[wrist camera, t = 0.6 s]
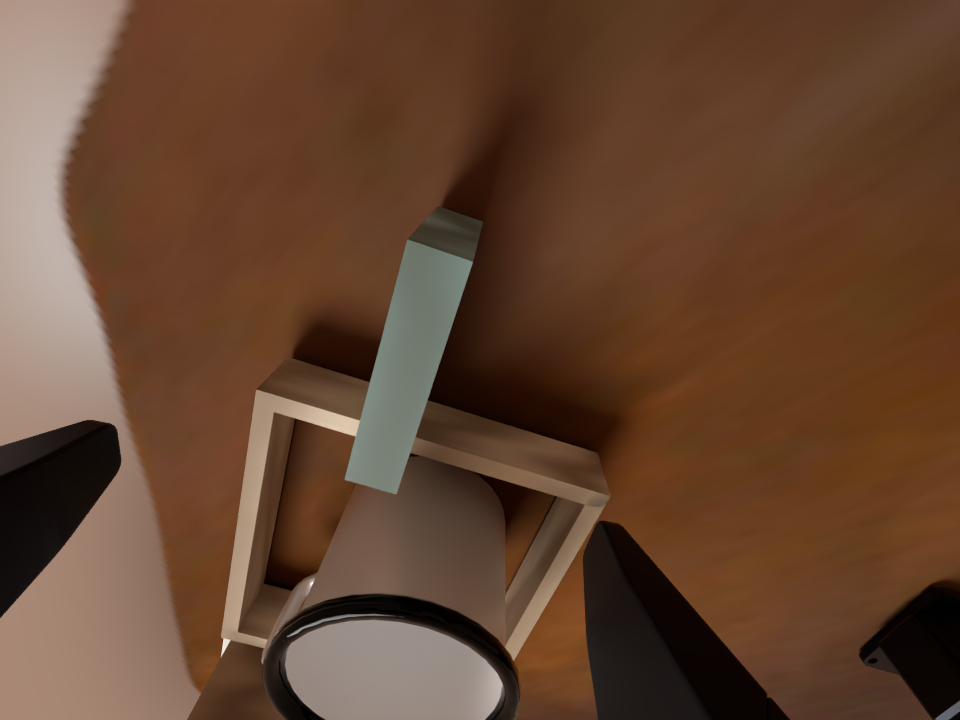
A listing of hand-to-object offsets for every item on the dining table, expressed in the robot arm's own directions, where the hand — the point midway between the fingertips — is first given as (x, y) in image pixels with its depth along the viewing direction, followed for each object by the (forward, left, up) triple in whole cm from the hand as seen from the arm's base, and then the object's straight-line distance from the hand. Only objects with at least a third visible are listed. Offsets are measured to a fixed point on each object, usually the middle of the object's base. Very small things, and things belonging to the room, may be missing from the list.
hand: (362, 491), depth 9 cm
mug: (-2, +13, -13) cm, 18 cm away
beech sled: (-2, +9, -12) cm, 15 cm away
